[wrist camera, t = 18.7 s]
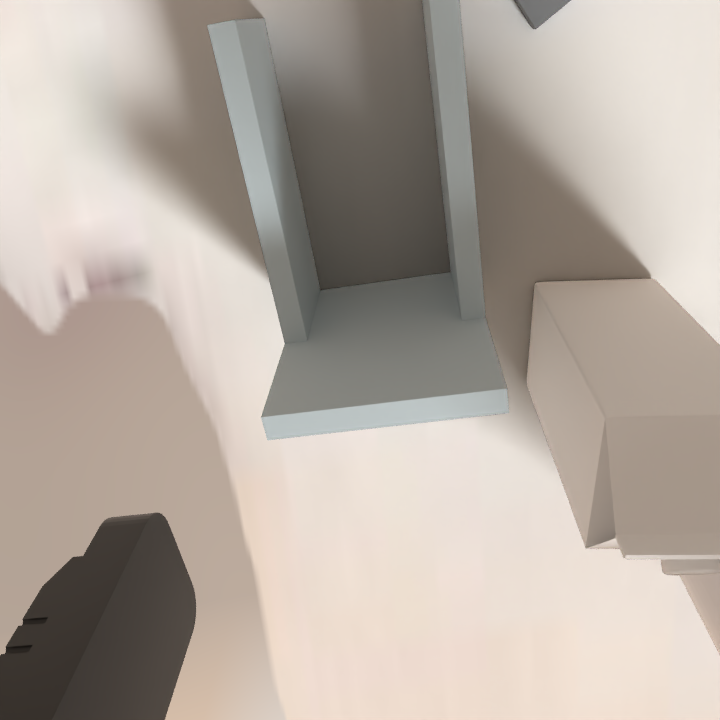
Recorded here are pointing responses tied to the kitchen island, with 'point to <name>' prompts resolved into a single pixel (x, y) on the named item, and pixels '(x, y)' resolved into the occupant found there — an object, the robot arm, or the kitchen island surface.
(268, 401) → the shelf bay
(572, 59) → the kitchen island surface
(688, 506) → the milk carton
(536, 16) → the slate pad
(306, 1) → the kitchen island surface
